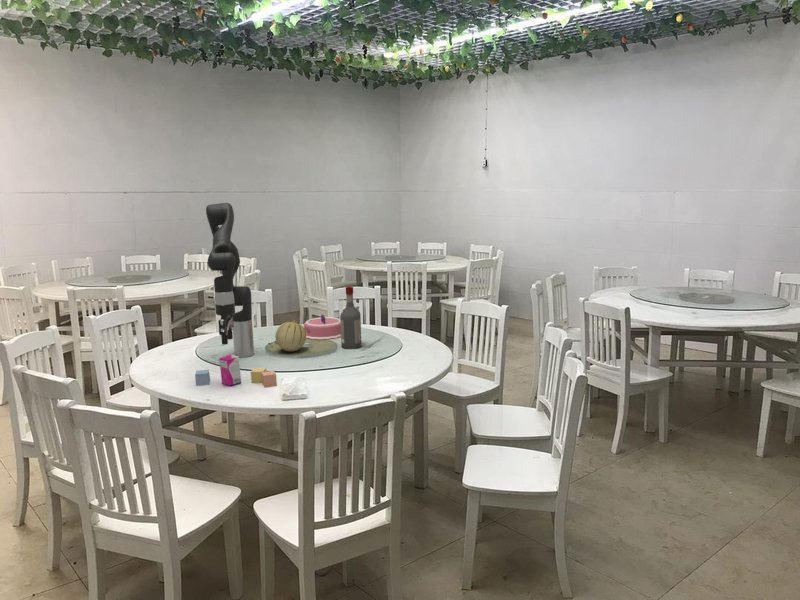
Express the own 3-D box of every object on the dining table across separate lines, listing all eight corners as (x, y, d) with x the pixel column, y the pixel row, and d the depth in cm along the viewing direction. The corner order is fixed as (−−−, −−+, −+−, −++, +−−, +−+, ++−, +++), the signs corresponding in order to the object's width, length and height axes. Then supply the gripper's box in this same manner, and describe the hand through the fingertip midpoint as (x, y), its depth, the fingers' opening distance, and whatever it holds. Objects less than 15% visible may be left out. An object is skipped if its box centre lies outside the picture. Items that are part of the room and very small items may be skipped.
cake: (297, 331, 333) (296, 312, 331) (342, 327, 340) (341, 308, 338) (304, 342, 310) (303, 322, 308) (352, 337, 317) (351, 318, 315)
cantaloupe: (271, 354, 288) (269, 324, 285) (284, 346, 302) (282, 317, 299) (299, 355, 285) (298, 325, 282) (311, 347, 299) (310, 318, 296)
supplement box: (233, 380, 252) (230, 354, 249) (241, 383, 248) (239, 356, 246) (221, 384, 247) (218, 357, 245) (229, 387, 244) (227, 359, 241)
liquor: (362, 344, 303) (360, 285, 297) (359, 349, 294) (356, 288, 288) (344, 344, 304) (341, 285, 298) (340, 349, 295) (338, 288, 289)
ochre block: (255, 379, 253) (254, 367, 252) (266, 379, 252) (266, 367, 251) (251, 383, 248) (250, 371, 247) (263, 383, 247) (262, 371, 246)
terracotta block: (262, 383, 247) (261, 372, 246) (274, 382, 249) (273, 370, 248) (264, 387, 242) (263, 375, 241) (276, 385, 244) (276, 373, 243)
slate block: (197, 382, 251) (196, 370, 250) (209, 380, 252) (208, 369, 251) (196, 385, 246) (195, 374, 245) (208, 384, 247) (207, 373, 246)
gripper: (219, 299, 248) (222, 337, 251) (210, 305, 234) (213, 346, 237) (238, 299, 249) (240, 337, 251) (230, 305, 235) (232, 345, 237)
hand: (227, 341), depth 244 cm, fingers open, 8 cm apart
